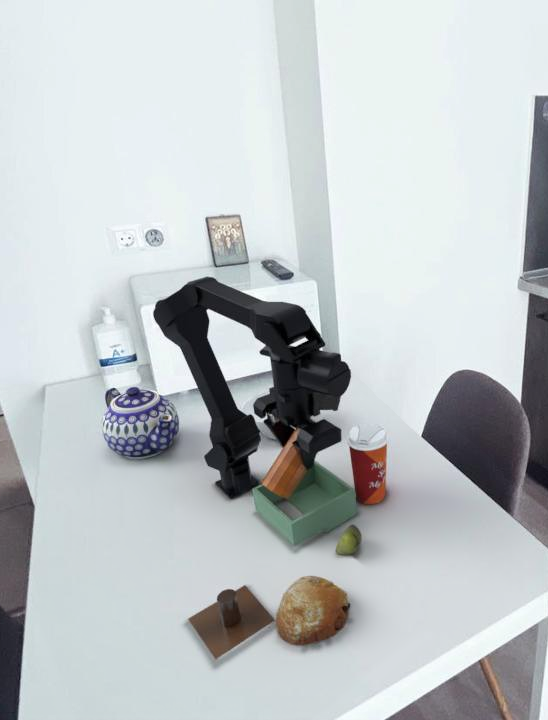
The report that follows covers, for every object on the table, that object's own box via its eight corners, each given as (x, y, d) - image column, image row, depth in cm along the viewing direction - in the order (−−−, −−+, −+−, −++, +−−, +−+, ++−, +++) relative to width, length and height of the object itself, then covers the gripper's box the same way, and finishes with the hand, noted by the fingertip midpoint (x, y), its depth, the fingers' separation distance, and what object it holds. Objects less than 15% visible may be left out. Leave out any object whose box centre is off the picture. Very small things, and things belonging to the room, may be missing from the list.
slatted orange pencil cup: (282, 498, 90) (317, 440, 92) (256, 481, 92) (292, 425, 93) (293, 498, 95) (327, 444, 97) (269, 482, 97) (302, 429, 98)
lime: (336, 563, 89) (334, 539, 87) (335, 542, 93) (332, 519, 91) (364, 559, 90) (362, 535, 88) (360, 538, 94) (359, 515, 92)
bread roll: (297, 610, 85) (269, 577, 81) (356, 585, 83) (330, 550, 80) (289, 669, 76) (257, 634, 72) (355, 641, 74) (325, 605, 71)
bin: (256, 513, 100) (252, 488, 98) (316, 483, 109) (313, 459, 106) (294, 550, 92) (291, 524, 89) (356, 514, 100) (355, 489, 98)
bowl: (329, 425, 129) (327, 399, 126) (280, 457, 117) (277, 429, 114) (281, 408, 137) (278, 383, 134) (230, 436, 125) (226, 410, 122)
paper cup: (384, 510, 101) (382, 446, 95) (345, 505, 102) (340, 441, 96) (394, 485, 108) (393, 423, 102) (357, 480, 109) (353, 419, 103)
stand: (188, 623, 78) (181, 595, 76) (246, 589, 84) (241, 562, 82) (216, 665, 72) (209, 635, 70) (276, 625, 78) (271, 596, 76)
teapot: (86, 443, 123) (68, 384, 117) (150, 416, 134) (136, 361, 128) (143, 484, 109) (126, 419, 103) (209, 450, 120) (197, 390, 114)
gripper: (365, 385, 88) (369, 465, 94) (302, 352, 100) (309, 425, 107) (306, 408, 81) (315, 493, 87) (246, 370, 93) (257, 447, 100)
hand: (300, 461), depth 95 cm, fingers closed on slatted orange pencil cup, 5 cm apart
